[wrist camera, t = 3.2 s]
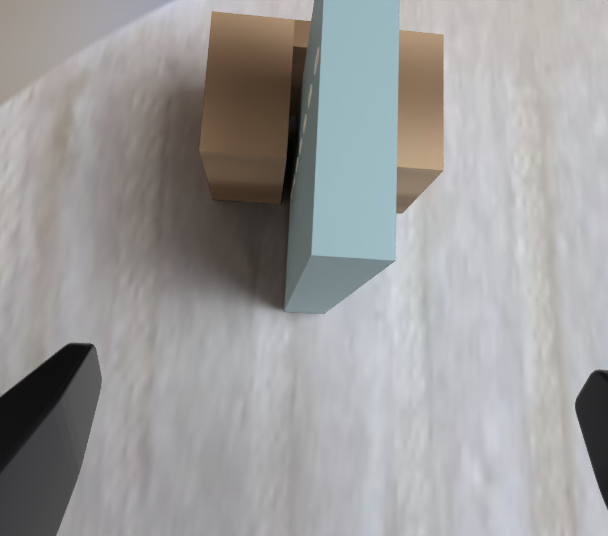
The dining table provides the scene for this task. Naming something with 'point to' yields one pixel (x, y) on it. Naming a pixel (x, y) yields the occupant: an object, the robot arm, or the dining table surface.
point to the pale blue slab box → (344, 154)
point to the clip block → (285, 100)
